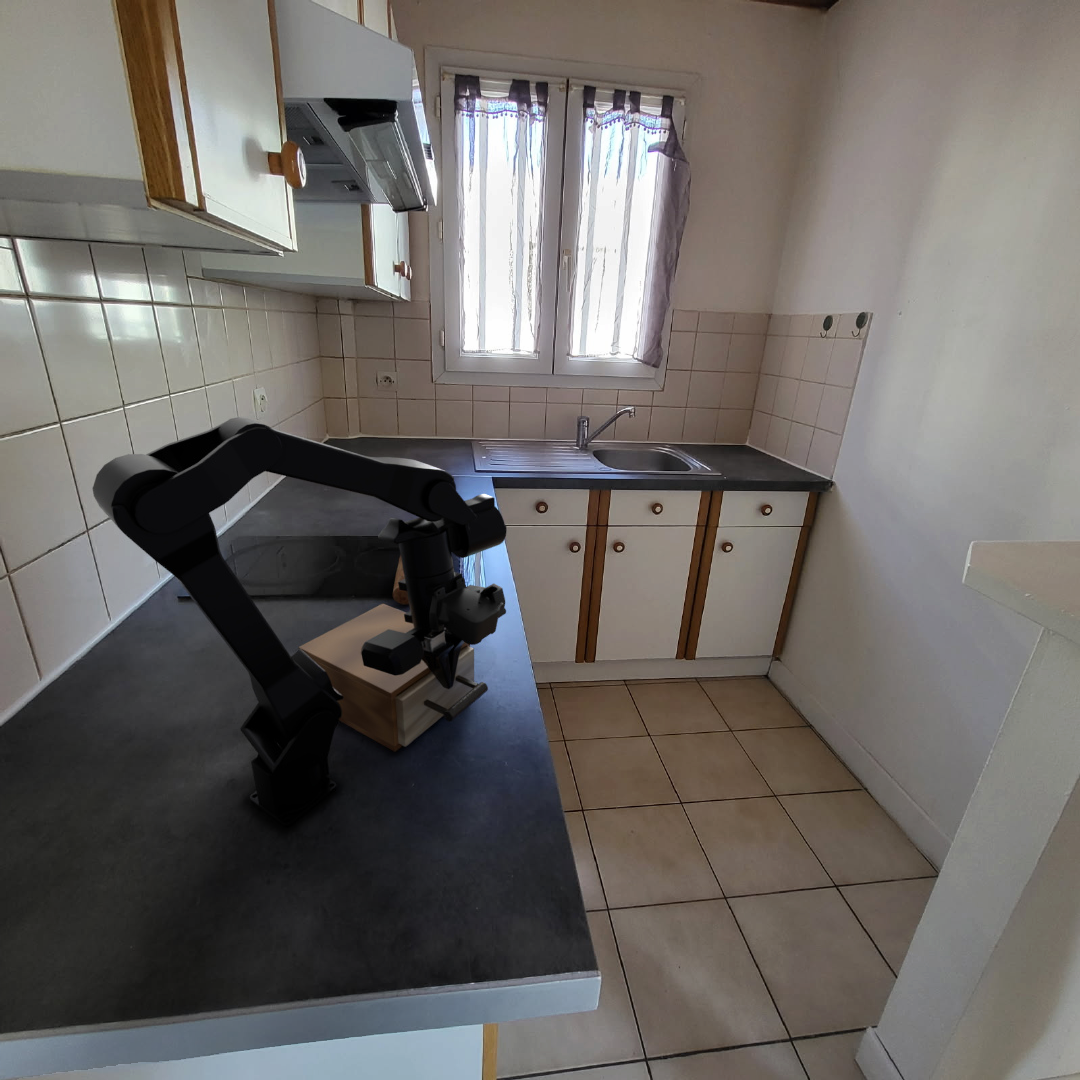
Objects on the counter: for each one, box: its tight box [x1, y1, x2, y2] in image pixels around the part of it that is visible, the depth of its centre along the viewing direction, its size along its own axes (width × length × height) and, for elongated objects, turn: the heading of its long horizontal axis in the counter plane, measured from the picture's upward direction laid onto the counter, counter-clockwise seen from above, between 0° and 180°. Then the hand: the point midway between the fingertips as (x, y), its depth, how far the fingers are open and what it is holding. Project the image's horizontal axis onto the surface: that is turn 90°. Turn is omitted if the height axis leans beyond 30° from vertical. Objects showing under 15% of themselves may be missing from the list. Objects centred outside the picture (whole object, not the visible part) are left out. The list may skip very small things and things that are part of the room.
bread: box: [392, 555, 409, 606], centre depth 107 cm, size 6×19×6 cm, turn 2°
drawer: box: [396, 646, 489, 748], centre depth 73 cm, size 20×13×7 cm, turn 58°
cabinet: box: [297, 603, 471, 753], centre depth 75 cm, size 17×15×9 cm
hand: (448, 687), depth 69 cm, fingers closed
